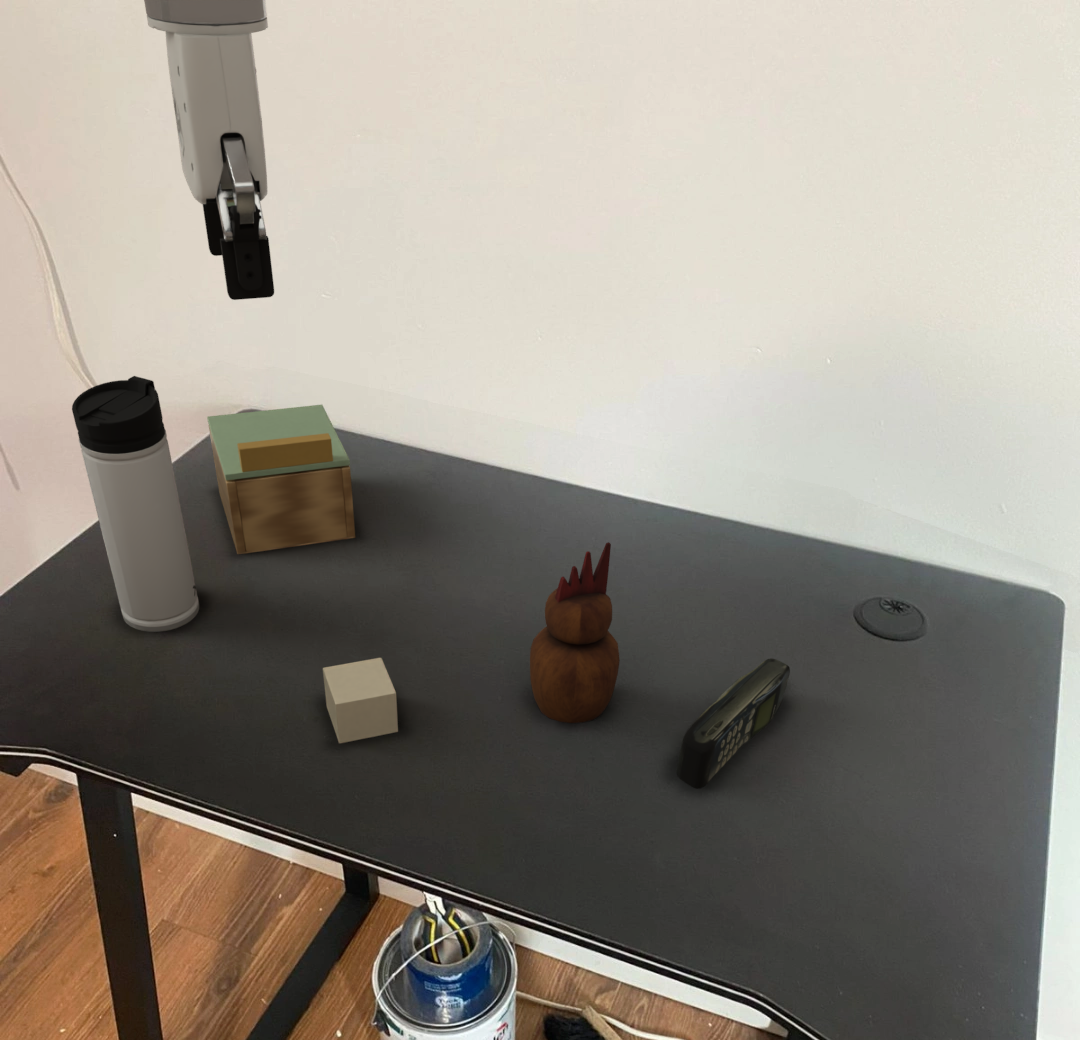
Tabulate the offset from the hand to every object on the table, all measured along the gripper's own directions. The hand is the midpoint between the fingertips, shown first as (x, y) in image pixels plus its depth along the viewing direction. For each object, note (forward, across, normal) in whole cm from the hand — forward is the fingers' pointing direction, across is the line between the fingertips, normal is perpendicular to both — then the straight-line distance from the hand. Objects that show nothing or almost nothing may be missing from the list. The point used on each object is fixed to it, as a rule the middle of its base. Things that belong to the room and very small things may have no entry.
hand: (241, 274), depth 79 cm
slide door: (+19, -10, +2) cm, 21 cm away
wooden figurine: (+27, +25, +18) cm, 41 cm away
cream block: (+27, +22, +2) cm, 35 cm away
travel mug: (+27, +3, -10) cm, 29 cm away
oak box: (+27, -10, +2) cm, 29 cm away
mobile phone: (+27, +32, +29) cm, 51 cm away
